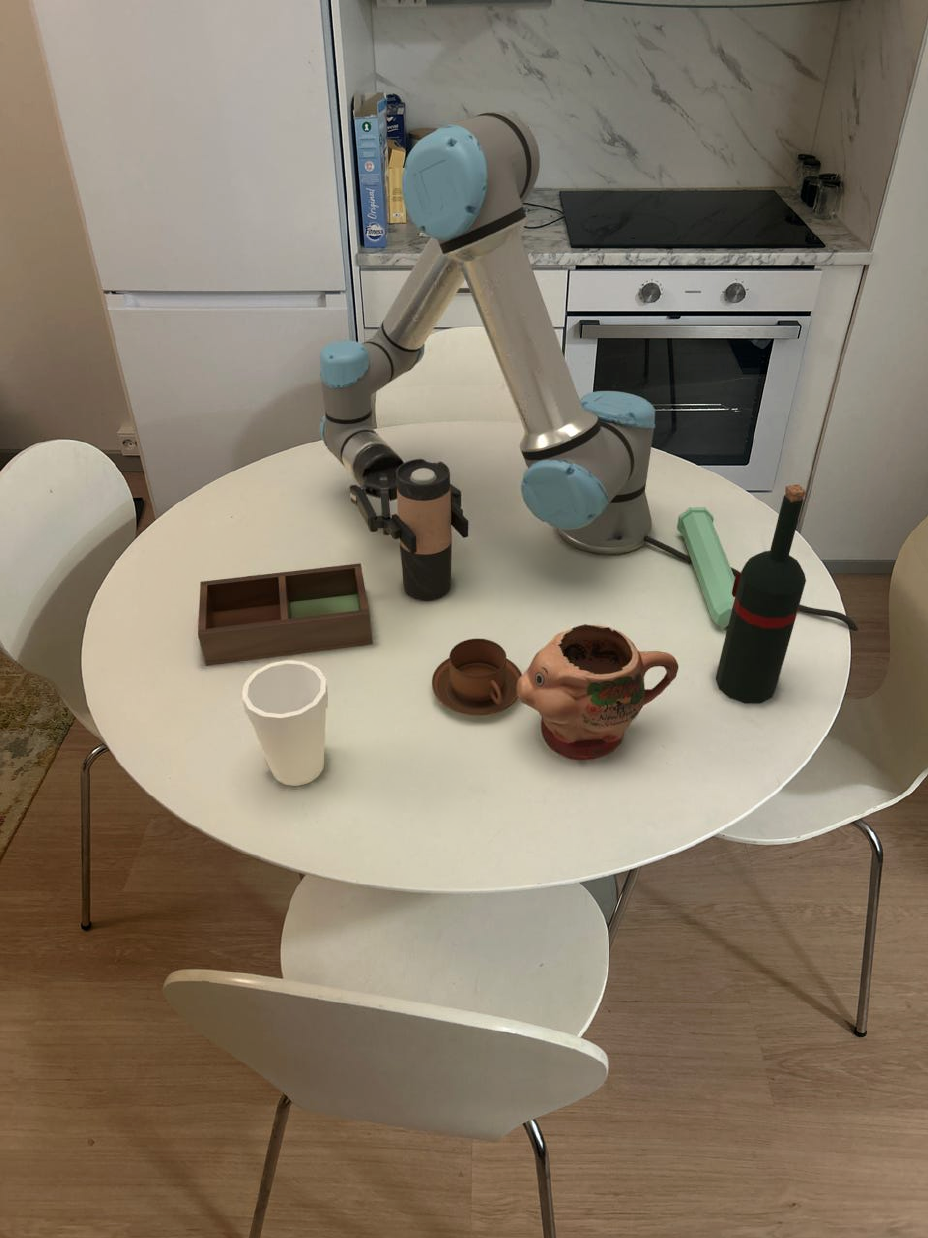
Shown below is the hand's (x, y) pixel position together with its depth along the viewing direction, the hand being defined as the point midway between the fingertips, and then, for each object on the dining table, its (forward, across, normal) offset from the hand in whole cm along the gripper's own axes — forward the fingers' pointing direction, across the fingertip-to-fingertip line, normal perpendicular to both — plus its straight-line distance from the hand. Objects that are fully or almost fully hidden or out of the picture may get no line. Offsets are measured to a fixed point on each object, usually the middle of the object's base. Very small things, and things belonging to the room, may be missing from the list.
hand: (440, 537), depth 128 cm
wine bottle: (+33, -28, -12) cm, 45 cm away
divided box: (-6, +22, -12) cm, 26 cm away
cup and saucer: (+19, +4, -12) cm, 23 cm away
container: (+14, -38, -12) cm, 43 cm away
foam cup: (+20, +30, -12) cm, 38 cm away
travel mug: (-5, 0, -12) cm, 13 cm away
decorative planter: (+32, -5, -12) cm, 35 cm away
